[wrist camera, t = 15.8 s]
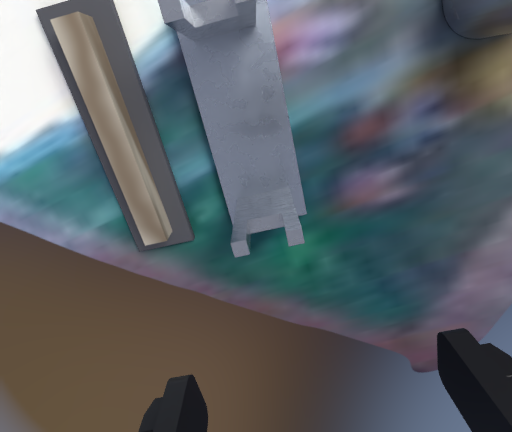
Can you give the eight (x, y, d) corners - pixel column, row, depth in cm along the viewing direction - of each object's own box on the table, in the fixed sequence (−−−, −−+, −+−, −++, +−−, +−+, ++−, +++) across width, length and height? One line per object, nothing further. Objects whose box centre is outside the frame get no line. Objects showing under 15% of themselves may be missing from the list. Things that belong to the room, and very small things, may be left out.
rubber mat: (109, -9, 34) (106, -11, 33) (194, 236, 46) (193, 240, 45) (41, 11, 35) (35, 10, 34) (141, 248, 46) (139, 251, 45)
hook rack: (261, -23, 34) (265, -86, 21) (305, 209, 44) (325, 263, 31) (171, 3, 35) (120, -42, 22) (234, 225, 45) (226, 283, 32)
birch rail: (92, 17, 34) (78, 11, 31) (172, 230, 44) (166, 240, 41) (66, 24, 34) (49, 19, 32) (151, 235, 44) (145, 245, 42)
